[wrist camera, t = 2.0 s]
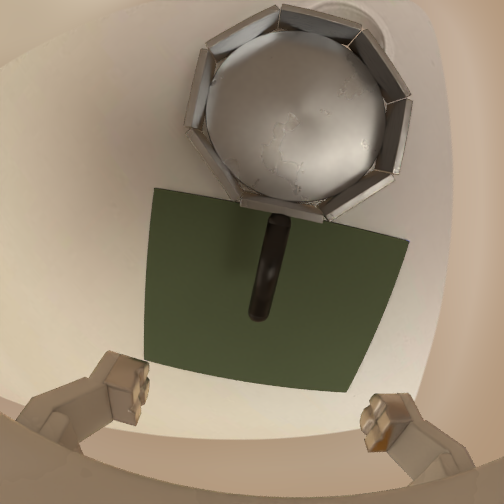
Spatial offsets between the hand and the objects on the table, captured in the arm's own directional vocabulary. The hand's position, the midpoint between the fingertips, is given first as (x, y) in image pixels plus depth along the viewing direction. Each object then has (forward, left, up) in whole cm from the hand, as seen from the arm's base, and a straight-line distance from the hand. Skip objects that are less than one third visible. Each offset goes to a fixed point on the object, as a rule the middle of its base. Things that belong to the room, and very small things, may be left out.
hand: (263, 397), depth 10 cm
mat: (-1, +4, -14) cm, 14 cm away
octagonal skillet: (0, -7, -14) cm, 16 cm away
